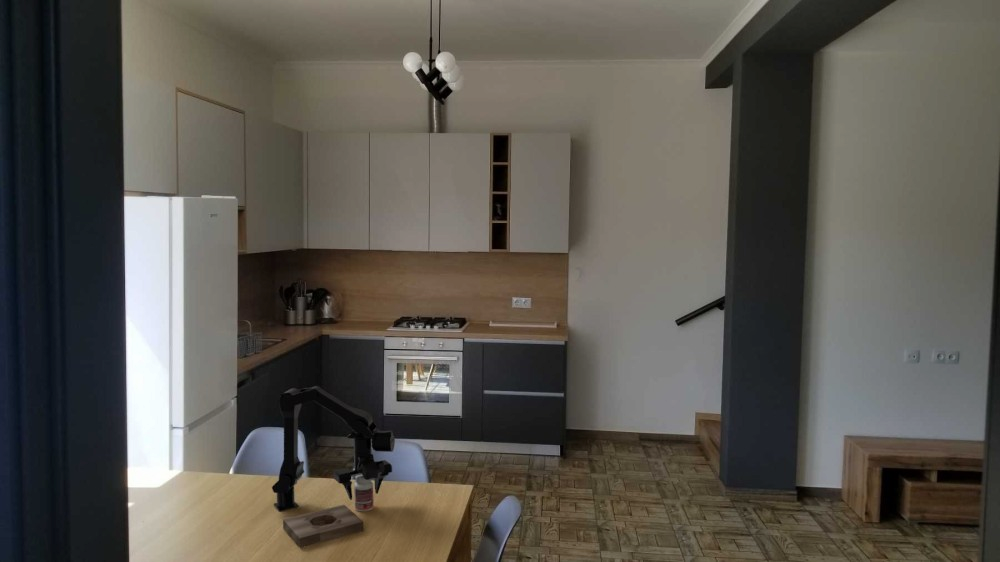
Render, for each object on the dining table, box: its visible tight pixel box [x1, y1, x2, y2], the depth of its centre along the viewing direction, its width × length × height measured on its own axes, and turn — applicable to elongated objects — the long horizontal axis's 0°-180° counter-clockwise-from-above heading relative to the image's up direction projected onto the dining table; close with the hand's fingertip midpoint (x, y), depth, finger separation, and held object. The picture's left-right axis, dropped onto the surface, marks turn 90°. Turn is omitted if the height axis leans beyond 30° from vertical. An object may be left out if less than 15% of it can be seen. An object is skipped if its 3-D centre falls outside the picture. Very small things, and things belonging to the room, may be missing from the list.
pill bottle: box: [353, 475, 375, 513], centre depth 230 cm, size 6×6×11 cm
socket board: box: [282, 504, 365, 549], centre depth 214 cm, size 16×20×3 cm
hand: (363, 496), depth 230 cm, fingers open, 9 cm apart
